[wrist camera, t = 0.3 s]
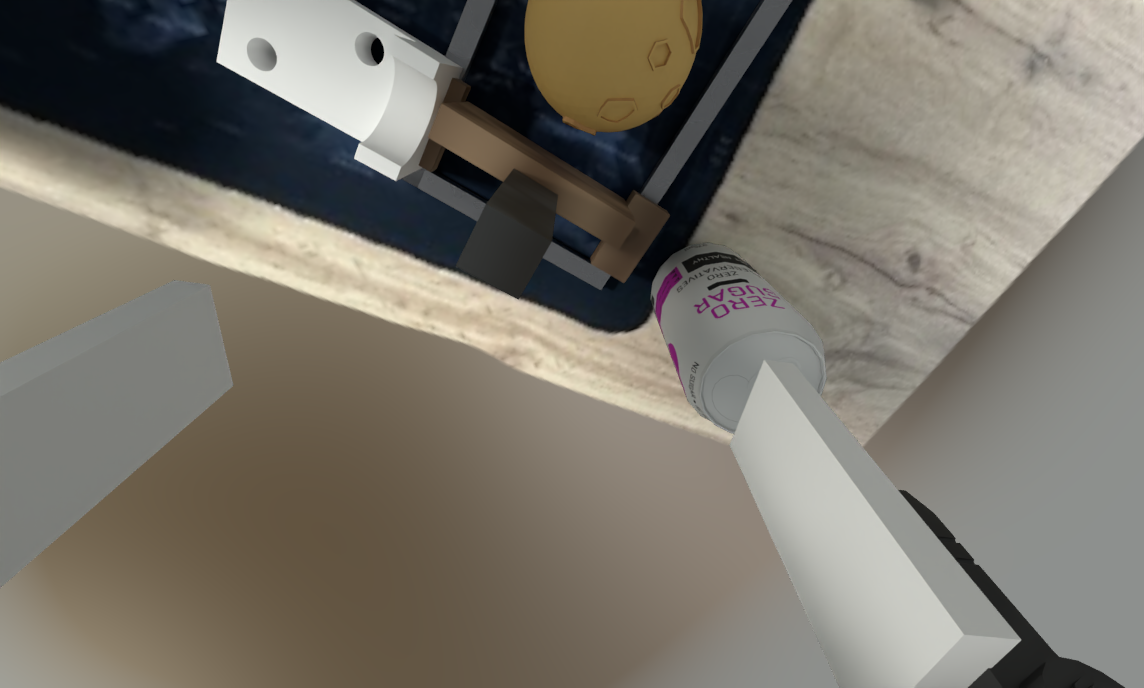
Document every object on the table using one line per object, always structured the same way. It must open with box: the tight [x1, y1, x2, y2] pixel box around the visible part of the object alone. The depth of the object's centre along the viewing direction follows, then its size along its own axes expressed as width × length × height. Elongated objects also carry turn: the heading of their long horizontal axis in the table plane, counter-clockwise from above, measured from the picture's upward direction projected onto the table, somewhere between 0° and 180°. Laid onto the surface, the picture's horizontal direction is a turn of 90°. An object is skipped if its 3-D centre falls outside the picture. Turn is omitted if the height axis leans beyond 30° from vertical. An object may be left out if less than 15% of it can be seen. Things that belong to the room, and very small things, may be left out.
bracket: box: [217, 0, 463, 181], centre depth 29 cm, size 13×7×8 cm, turn 60°
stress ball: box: [525, 0, 703, 136], centre depth 26 cm, size 10×10×10 cm
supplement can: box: [651, 243, 827, 434], centre depth 33 cm, size 8×8×15 cm
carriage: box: [419, 78, 670, 299], centre depth 27 cm, size 19×6×18 cm, turn 60°
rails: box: [401, 0, 792, 290], centre depth 31 cm, size 18×28×1 cm, turn 150°
